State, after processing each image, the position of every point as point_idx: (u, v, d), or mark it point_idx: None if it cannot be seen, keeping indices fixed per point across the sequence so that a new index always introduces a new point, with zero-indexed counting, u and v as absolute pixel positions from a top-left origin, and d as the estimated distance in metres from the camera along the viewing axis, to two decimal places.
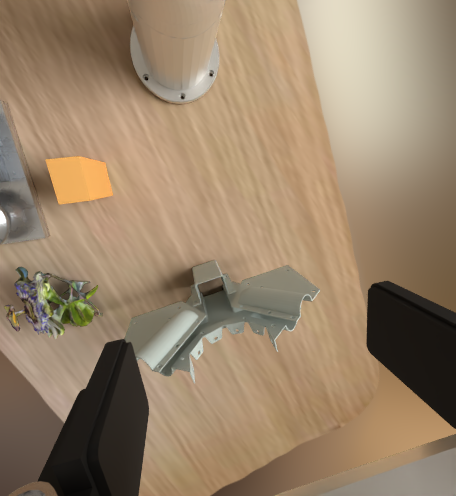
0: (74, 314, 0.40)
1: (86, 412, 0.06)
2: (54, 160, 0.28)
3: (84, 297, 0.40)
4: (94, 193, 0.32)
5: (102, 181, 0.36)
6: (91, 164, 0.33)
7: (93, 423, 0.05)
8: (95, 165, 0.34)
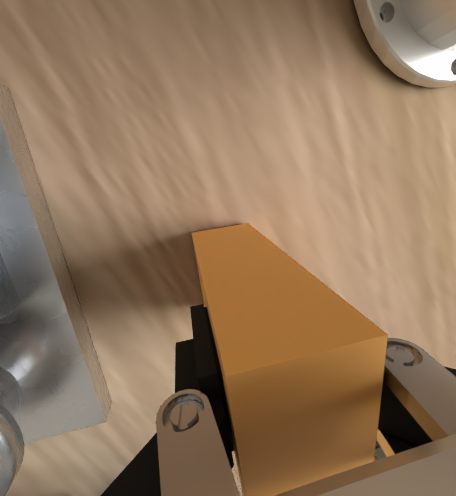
0: None
1: (204, 348, 0.07)
2: (270, 372, 0.05)
3: None
4: None
5: None
6: None
7: (213, 353, 0.07)
8: None
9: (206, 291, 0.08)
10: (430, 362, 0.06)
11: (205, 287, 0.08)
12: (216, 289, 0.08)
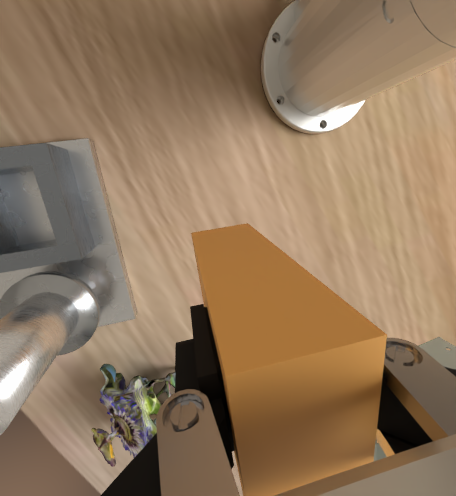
0: None
1: (203, 348, 0.07)
2: (270, 372, 0.05)
3: None
4: None
5: None
6: None
7: (213, 353, 0.07)
8: None
9: (206, 291, 0.08)
10: (430, 362, 0.06)
11: (205, 287, 0.08)
12: (216, 289, 0.08)
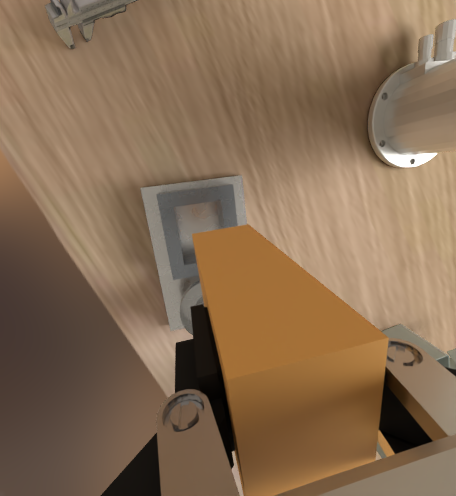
0: None
1: (204, 348, 0.07)
2: (271, 375, 0.05)
3: None
4: None
5: None
6: None
7: (213, 353, 0.07)
8: None
9: (207, 293, 0.08)
10: (430, 362, 0.06)
11: (206, 289, 0.08)
12: (216, 291, 0.08)
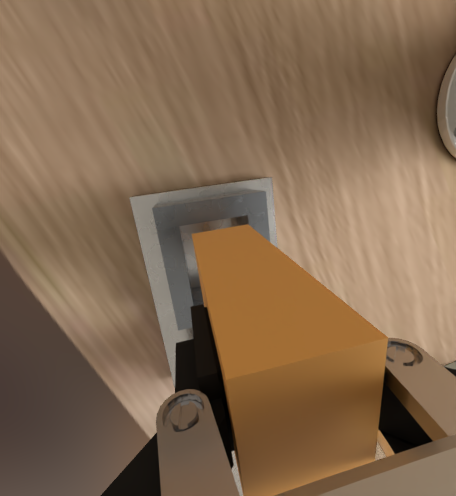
0: None
1: (203, 348, 0.07)
2: (270, 375, 0.05)
3: None
4: None
5: None
6: None
7: (213, 353, 0.07)
8: None
9: (206, 293, 0.08)
10: (430, 362, 0.06)
11: (205, 289, 0.08)
12: (216, 291, 0.08)
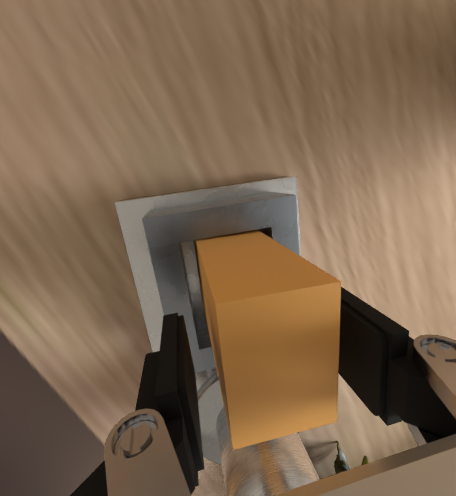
0: None
1: (168, 362, 0.07)
2: (249, 304, 0.07)
3: None
4: None
5: None
6: None
7: (176, 369, 0.07)
8: None
9: (203, 262, 0.10)
10: None
11: (202, 259, 0.10)
12: (211, 260, 0.10)
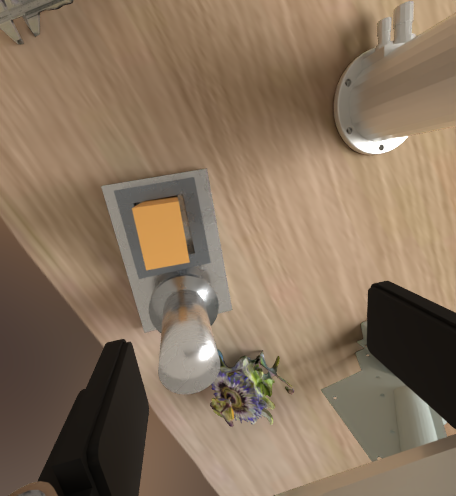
0: (264, 393, 0.36)
1: (86, 412, 0.06)
2: (144, 208, 0.19)
3: (275, 374, 0.36)
4: None
5: None
6: None
7: (93, 423, 0.05)
8: None
9: (138, 204, 0.22)
10: None
11: (138, 204, 0.22)
12: (142, 204, 0.22)
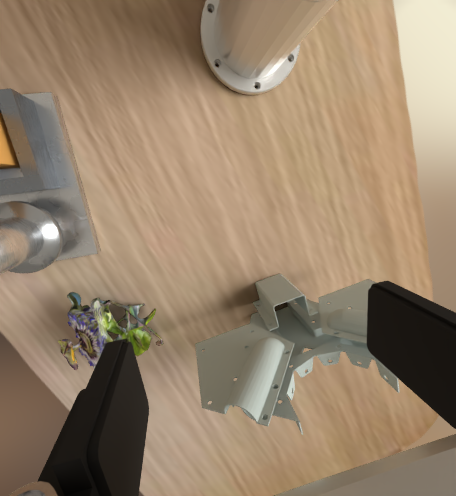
0: (132, 344, 0.35)
1: (86, 412, 0.06)
2: None
3: (144, 324, 0.34)
4: None
5: (3, 141, 0.25)
6: None
7: (93, 423, 0.05)
8: None
9: None
10: None
11: None
12: None
